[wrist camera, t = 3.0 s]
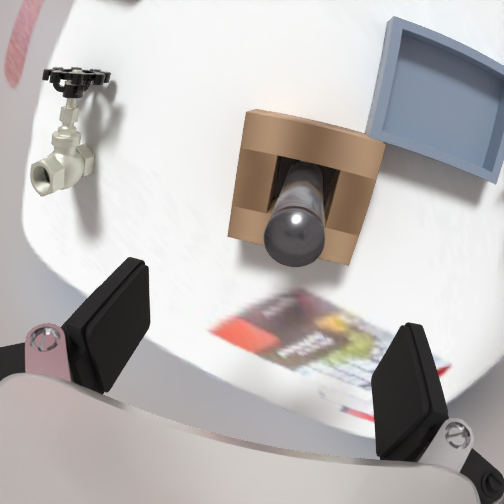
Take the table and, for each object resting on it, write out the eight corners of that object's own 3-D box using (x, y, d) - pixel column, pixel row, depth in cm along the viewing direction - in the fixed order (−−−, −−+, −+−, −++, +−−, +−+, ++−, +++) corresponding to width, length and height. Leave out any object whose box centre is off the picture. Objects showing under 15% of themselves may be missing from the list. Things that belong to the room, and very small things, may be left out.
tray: (507, 76, 17) (521, 77, 15) (483, 176, 22) (495, 184, 20) (387, 22, 19) (393, 16, 16) (364, 133, 24) (369, 137, 21)
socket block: (376, 136, 23) (385, 144, 20) (345, 243, 28) (348, 265, 25) (256, 108, 24) (246, 111, 21) (238, 217, 29) (227, 236, 26)
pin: (326, 165, 26) (331, 219, 15) (318, 199, 27) (316, 272, 17) (290, 156, 26) (269, 204, 15) (283, 190, 27) (258, 259, 17)
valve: (103, 186, 31) (124, 73, 25) (64, 209, 25) (79, 75, 19) (60, 169, 31) (75, 66, 25) (20, 189, 25) (30, 69, 19)
